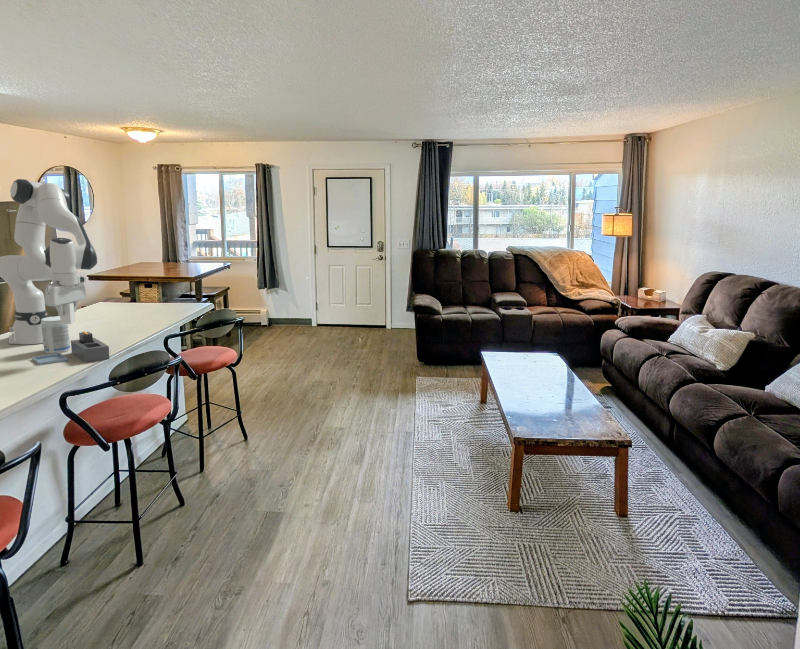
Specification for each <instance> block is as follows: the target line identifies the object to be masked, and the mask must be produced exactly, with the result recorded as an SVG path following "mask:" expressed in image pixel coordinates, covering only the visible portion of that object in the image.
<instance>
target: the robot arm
mask: <svg viewBox="0 0 800 649" xmlns="http://www.w3.org/2000/svg"><path fill="white" fill-rule="evenodd" d="M9 192H10V197H11V199H12V200H13V201H14V202H16V203H18V204H19V207H18V210H17V214H16V218H15V225H14V226H15V227H14V238H13V239H14V241H15V243H16V244H17V245H18V246H20V247H22V249H23V252H24V255H20V254H18V255H17V254H16V255H15V254H7V255H3V256H0V278H1V279H3V280H4V281H5V283H6V284H7V285H8V287H9V288H10V290H11V292H12V294H13V300H14V305H15V311H14V319H15V321H14V323H13V325H12V326H9V327H8V329H9V333H11V334H10V335H8V344H9V345H38V344H39V345H40V344H43V336H42V328H41V319H43V318H47V317H48V312H47V309H46V306H47V307H55V310H56V311H57V315H58V316H63V315H65V311H63V309H62V307H63V304H67V303H71V302H74V313H77V307H78V304H79V301H84V300H85V299H86V297H87V286H86V280H87V279H86V277H85V276H83V275H79V274H78V270H87V271H88V270H92V269H93V268H94V267H95V266H96V265H97V264H98V254H97V252H96V249H95V248H94V247H93V245H92V243H91V240H90V239H89V236H88V234H87V231H86V230H85V227H84V226H83V223H82V221H81V219H80V218H79V217H78V216H77V215H75V214H74V213H73V212H71V211H70V209H69V205H70V200H71V199H70V198H71V196H70V194H69V192H68V191H67V190H65V189H63V188H61V187H60V186H59V185H58V184H55V183H51V182H46V183H44V182H37V181H32V180H27V179H23V178H17V179H16V180H14V181H13V182H12V184H11V185H10V191H9ZM46 225H47V226H49V227H51V228H53V229H54V228H55V229H59V230H62V231H65V232H69V233H71V234H72V235H73V236H74V238H75V240H76V242H77V244H78V245H75V244H74V241H73V240H72V239H70V238H68V237H67V238H66V237H55V238H52V239H50V241H49V246H48V247H46V241H45V240H46V239H45V238H46V228H47V226H46ZM44 281H50V282H48V284H47V286H46V287H45V291H44V292H45V293H43V291H42V290H41V289H40V288H37V287H36V286H35V285H34V283H33V282H44Z"/></svg>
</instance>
